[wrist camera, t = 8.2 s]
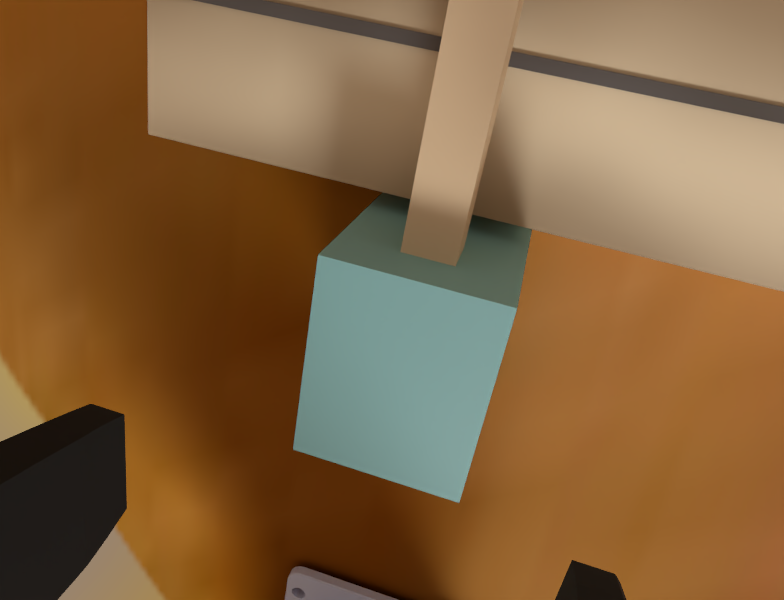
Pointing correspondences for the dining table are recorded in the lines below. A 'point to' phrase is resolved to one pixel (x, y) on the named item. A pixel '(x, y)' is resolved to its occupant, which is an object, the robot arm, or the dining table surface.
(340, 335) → the tan post teal base
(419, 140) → the board
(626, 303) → the dining table surface
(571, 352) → the dining table surface
